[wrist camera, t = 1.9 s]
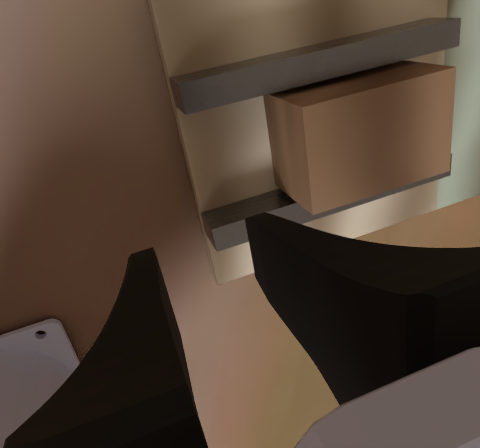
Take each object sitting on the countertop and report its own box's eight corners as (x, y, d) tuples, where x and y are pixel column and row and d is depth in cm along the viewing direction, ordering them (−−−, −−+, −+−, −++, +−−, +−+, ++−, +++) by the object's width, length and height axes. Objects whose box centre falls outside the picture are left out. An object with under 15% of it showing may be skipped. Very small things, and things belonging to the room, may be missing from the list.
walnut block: (275, 184, 22) (312, 215, 19) (262, 92, 20) (302, 107, 16) (394, 148, 23) (449, 170, 20) (394, 59, 21) (456, 66, 18)
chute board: (213, 277, 24) (217, 285, 23) (145, -8, 17) (148, -9, 17) (552, 162, 29) (564, 165, 29) (599, -91, 23) (615, -95, 22)
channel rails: (205, 233, 22) (216, 252, 20) (168, 77, 18) (178, 83, 17) (424, 164, 25) (450, 175, 23) (429, 17, 21) (461, 17, 19)
